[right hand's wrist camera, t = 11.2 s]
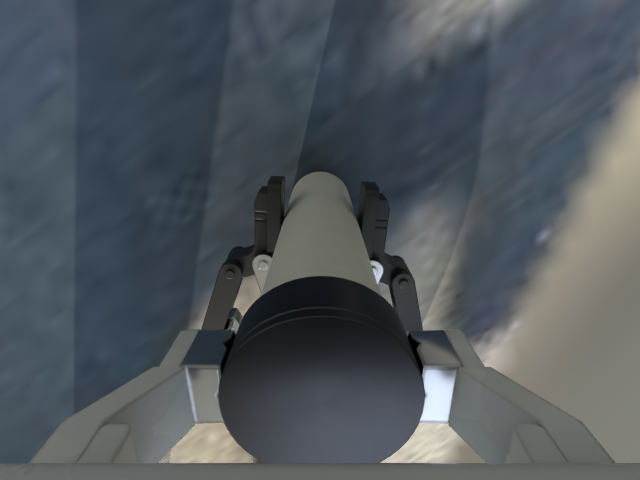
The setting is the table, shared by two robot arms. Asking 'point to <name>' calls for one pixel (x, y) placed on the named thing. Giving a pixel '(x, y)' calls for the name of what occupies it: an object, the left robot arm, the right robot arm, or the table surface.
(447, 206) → the table surface
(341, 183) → the grey cylinder
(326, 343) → the lid
